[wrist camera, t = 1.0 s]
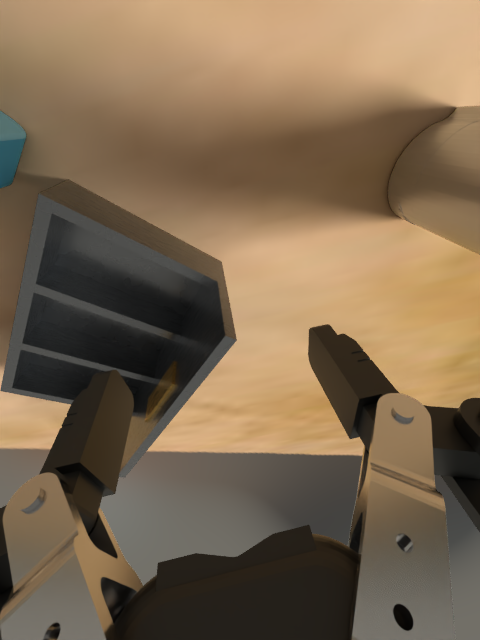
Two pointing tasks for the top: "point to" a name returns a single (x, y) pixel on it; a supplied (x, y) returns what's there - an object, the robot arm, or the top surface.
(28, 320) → the rack
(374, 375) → the robot arm
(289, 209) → the top surface
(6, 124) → the blue flat rounded slab
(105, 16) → the top surface
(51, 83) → the top surface
